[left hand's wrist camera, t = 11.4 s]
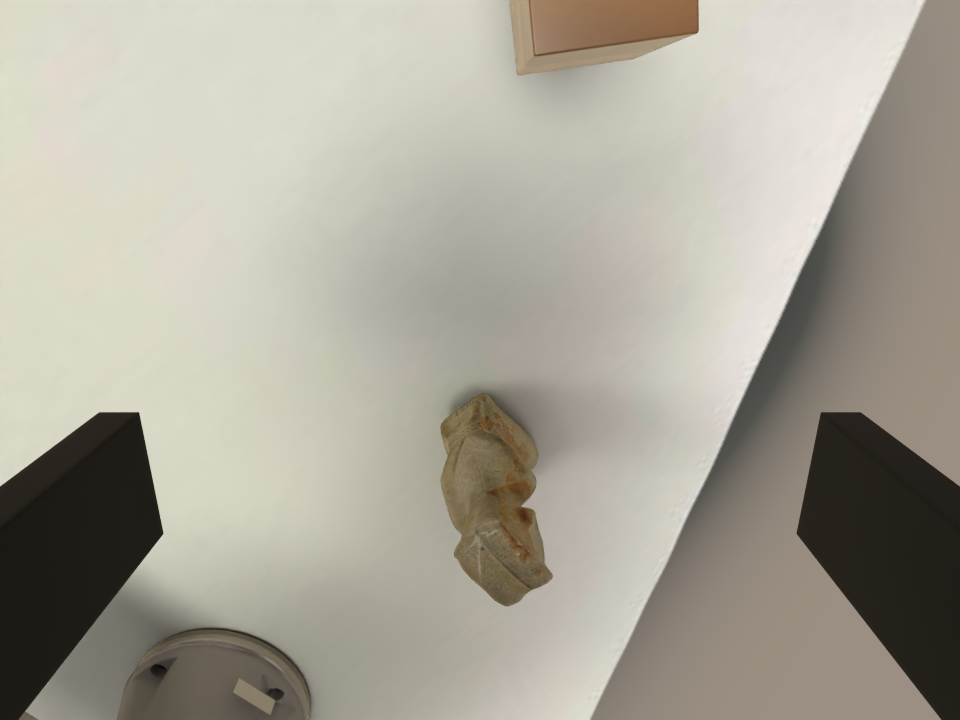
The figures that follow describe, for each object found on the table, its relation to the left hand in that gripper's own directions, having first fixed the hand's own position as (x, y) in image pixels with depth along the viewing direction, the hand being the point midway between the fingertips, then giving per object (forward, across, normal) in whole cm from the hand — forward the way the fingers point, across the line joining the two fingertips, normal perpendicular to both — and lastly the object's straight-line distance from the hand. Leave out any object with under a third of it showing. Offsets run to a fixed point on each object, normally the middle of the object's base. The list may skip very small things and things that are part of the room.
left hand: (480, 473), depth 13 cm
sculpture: (+31, -1, +14) cm, 34 cm away
